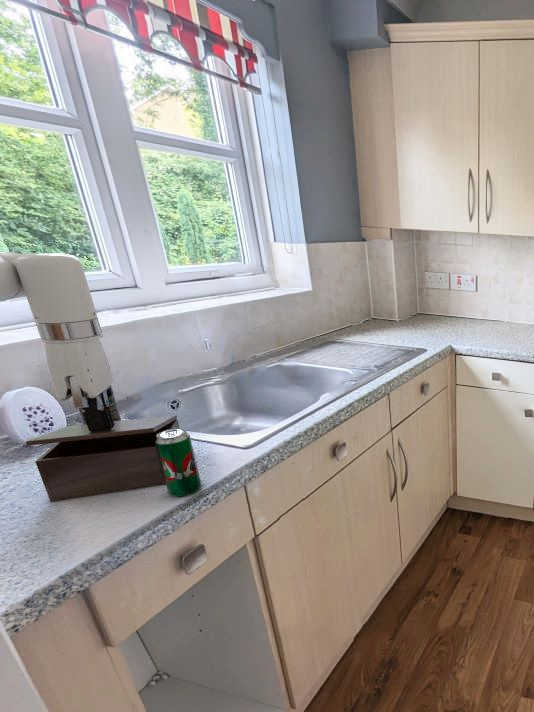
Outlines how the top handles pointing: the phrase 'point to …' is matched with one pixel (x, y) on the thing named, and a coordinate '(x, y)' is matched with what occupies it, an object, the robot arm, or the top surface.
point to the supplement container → (111, 405)
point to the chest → (102, 465)
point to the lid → (118, 430)
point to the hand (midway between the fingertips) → (102, 429)
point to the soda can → (178, 462)
